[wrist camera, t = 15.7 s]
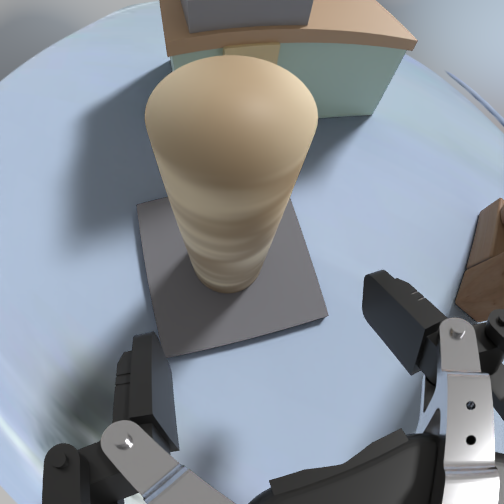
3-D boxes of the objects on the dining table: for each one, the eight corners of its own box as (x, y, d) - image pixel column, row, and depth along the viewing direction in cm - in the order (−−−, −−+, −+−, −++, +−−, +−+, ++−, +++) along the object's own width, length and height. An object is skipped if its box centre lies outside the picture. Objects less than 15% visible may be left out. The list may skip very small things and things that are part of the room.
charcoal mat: (166, 358, 19) (164, 358, 18) (138, 208, 22) (136, 204, 22) (326, 316, 21) (328, 315, 20) (279, 177, 24) (281, 173, 23)
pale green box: (182, 144, 24) (161, 10, 12) (167, 58, 28) (154, -42, 16) (377, 119, 27) (431, 20, 15) (325, 44, 31) (351, -42, 18)
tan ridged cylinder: (201, 300, 20) (153, 194, 7) (186, 235, 21) (141, 69, 8) (270, 283, 20) (344, 159, 7) (251, 220, 22) (285, 50, 9)
